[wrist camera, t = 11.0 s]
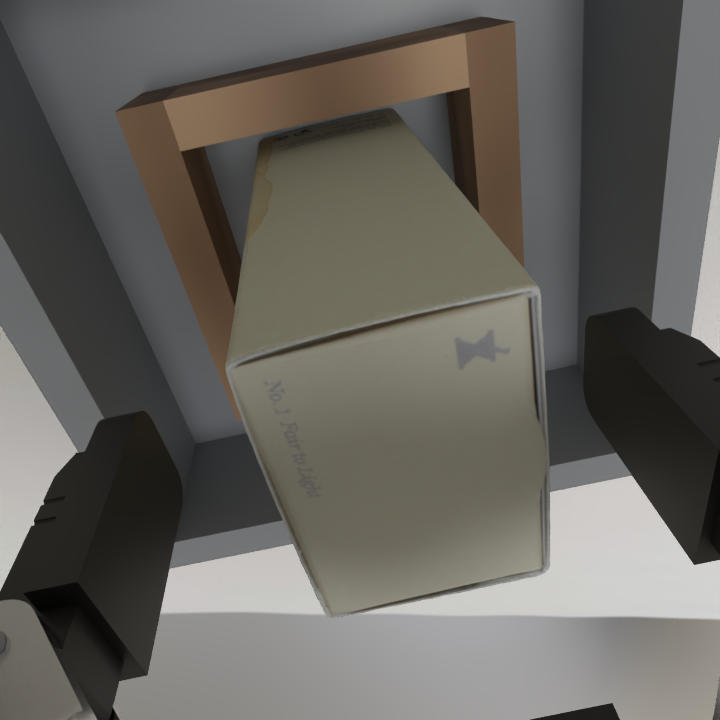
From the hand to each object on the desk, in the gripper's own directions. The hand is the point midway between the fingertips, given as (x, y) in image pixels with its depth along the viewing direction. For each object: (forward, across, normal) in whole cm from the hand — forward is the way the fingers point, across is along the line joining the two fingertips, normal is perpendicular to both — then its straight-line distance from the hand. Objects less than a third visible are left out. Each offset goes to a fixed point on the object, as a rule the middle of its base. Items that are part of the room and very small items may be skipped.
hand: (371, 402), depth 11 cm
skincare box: (+10, 0, 0) cm, 10 cm away
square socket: (+11, 0, 0) cm, 11 cm away
